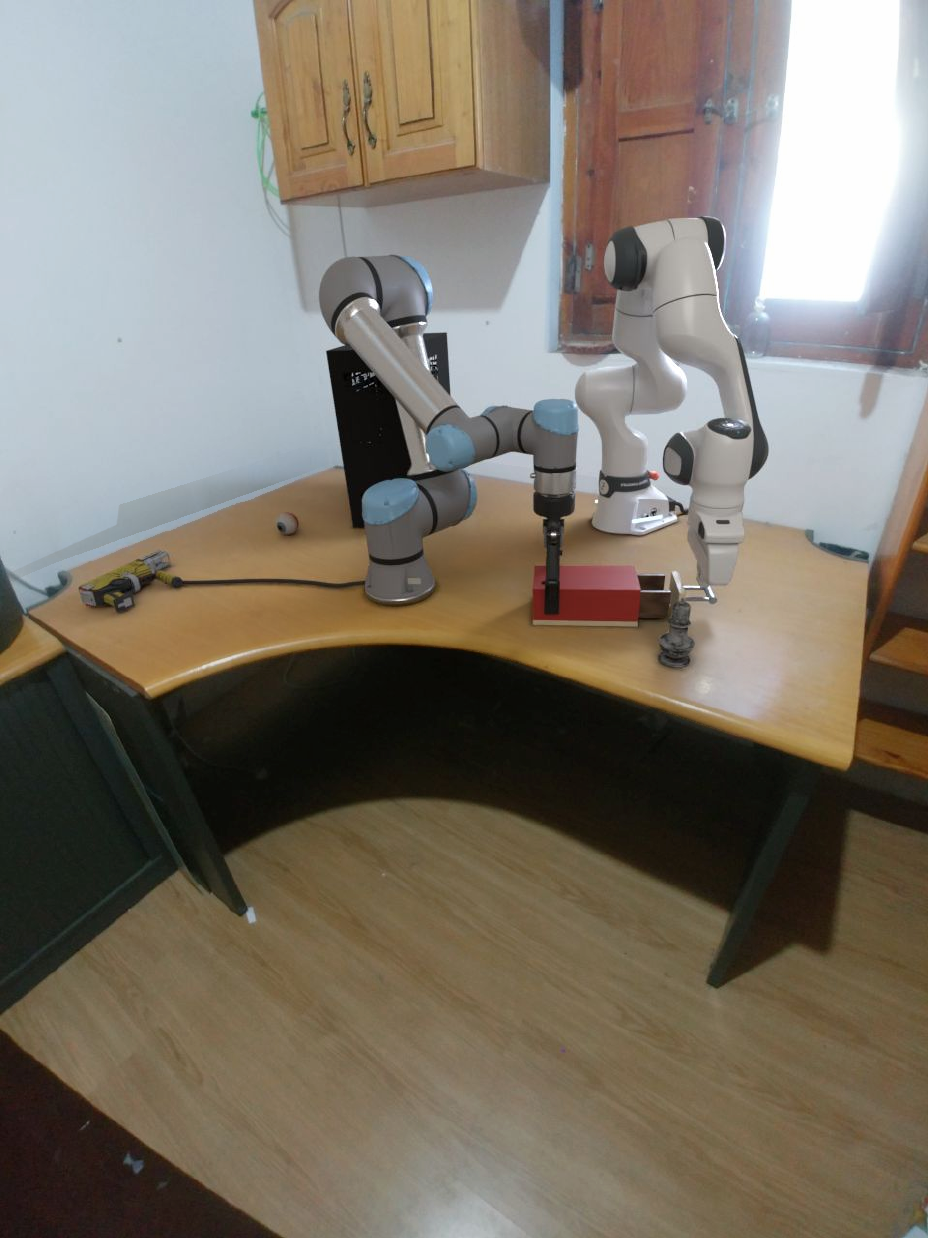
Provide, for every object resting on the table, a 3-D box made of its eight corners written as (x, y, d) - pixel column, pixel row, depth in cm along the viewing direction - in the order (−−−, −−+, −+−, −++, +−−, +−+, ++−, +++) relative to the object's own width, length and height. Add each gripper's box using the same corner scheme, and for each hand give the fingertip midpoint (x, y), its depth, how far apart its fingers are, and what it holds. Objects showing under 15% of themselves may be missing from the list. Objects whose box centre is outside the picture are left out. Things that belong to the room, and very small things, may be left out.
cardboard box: (422, 529, 163) (406, 348, 140) (352, 527, 167) (325, 350, 145) (456, 486, 194) (446, 332, 172) (396, 484, 199) (379, 334, 176)
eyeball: (273, 537, 164) (268, 516, 161) (287, 528, 169) (282, 508, 166) (291, 539, 161) (286, 518, 158) (305, 530, 166) (301, 510, 163)
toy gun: (206, 558, 145) (156, 547, 149) (127, 600, 125) (71, 586, 129) (209, 576, 148) (160, 565, 152) (132, 620, 128) (77, 606, 132)
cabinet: (631, 600, 123) (634, 565, 119) (637, 626, 114) (641, 589, 110) (534, 599, 126) (534, 565, 122) (532, 624, 117) (532, 588, 113)
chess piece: (694, 669, 101) (704, 607, 95) (657, 667, 102) (665, 605, 96) (690, 650, 106) (699, 590, 100) (655, 648, 107) (662, 588, 101)
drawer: (706, 598, 120) (710, 571, 117) (716, 622, 112) (721, 593, 109) (579, 597, 124) (581, 570, 121) (581, 619, 116) (582, 592, 113)
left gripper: (535, 472, 119) (534, 573, 130) (530, 513, 99) (530, 628, 110) (573, 471, 118) (570, 573, 129) (577, 513, 98) (572, 629, 109)
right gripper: (685, 495, 116) (675, 560, 123) (707, 538, 99) (695, 610, 106) (719, 495, 115) (707, 560, 123) (748, 538, 98) (733, 611, 105)
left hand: (551, 599), depth 119 cm, fingers closed on cabinet, 10 cm apart
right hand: (702, 584), depth 114 cm, fingers closed
